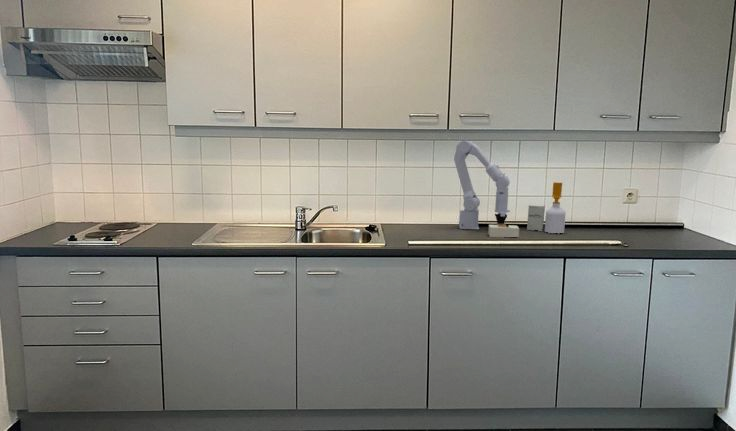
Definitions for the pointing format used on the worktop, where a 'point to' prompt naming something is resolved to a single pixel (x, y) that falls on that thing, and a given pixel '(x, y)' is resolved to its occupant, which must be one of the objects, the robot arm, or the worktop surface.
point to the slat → (501, 225)
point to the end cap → (503, 231)
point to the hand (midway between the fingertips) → (500, 228)
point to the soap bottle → (555, 213)
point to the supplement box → (535, 217)
